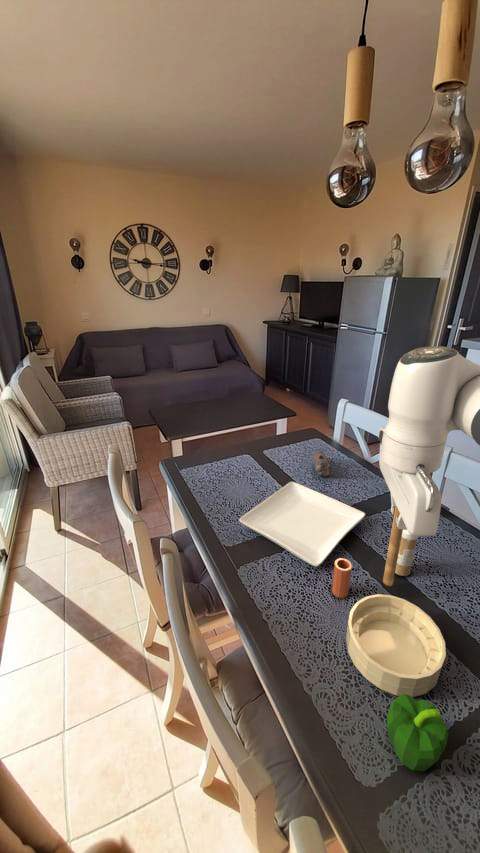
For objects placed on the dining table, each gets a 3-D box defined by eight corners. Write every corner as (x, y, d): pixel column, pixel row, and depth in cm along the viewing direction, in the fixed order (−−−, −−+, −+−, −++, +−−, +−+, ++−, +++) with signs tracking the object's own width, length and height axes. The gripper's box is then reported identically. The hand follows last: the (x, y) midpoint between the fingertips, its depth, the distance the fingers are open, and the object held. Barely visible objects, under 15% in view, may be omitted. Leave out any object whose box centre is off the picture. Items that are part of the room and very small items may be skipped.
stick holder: (347, 585, 87) (350, 558, 84) (349, 598, 84) (353, 571, 80) (330, 584, 87) (333, 557, 84) (332, 597, 84) (335, 570, 81)
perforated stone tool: (309, 460, 143) (310, 444, 140) (322, 459, 143) (323, 444, 140) (317, 480, 129) (318, 463, 127) (331, 480, 129) (333, 463, 127)
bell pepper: (382, 768, 55) (391, 731, 51) (383, 711, 62) (391, 675, 58) (443, 793, 53) (458, 756, 48) (437, 731, 60) (449, 694, 55)
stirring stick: (391, 578, 70) (407, 492, 61) (394, 586, 68) (410, 498, 60) (381, 578, 70) (396, 491, 62) (384, 585, 68) (399, 497, 60)
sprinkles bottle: (388, 563, 93) (395, 521, 88) (406, 563, 93) (414, 521, 87) (395, 577, 89) (403, 534, 83) (413, 577, 89) (423, 533, 83)
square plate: (237, 529, 107) (237, 518, 105) (291, 489, 125) (291, 479, 123) (316, 576, 90) (317, 565, 88) (365, 522, 108) (367, 511, 106)
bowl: (421, 617, 79) (426, 597, 76) (454, 704, 63) (462, 683, 61) (340, 611, 81) (342, 591, 78) (353, 694, 65) (357, 672, 63)
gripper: (461, 488, 48) (441, 567, 53) (412, 425, 66) (401, 488, 72) (410, 486, 48) (396, 564, 54) (376, 424, 67) (368, 487, 72)
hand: (399, 520), depth 63 cm, fingers closed on stirring stick, 2 cm apart
